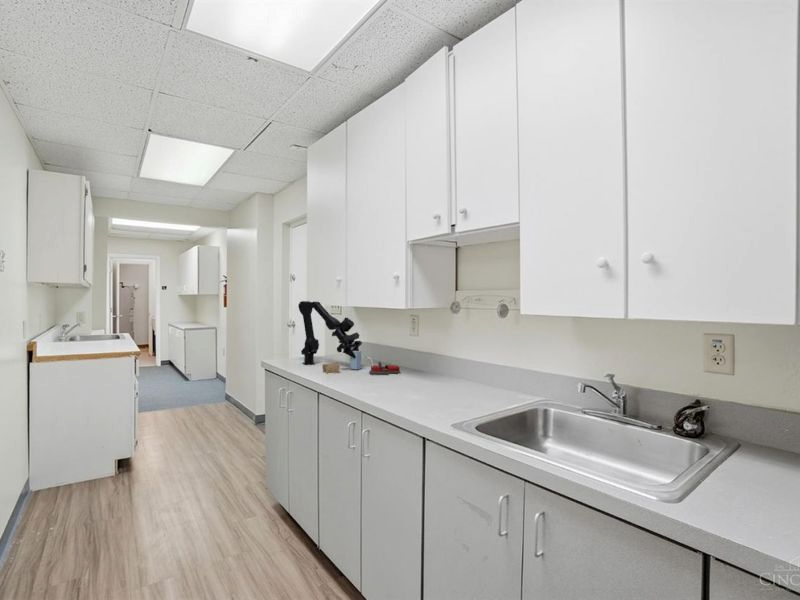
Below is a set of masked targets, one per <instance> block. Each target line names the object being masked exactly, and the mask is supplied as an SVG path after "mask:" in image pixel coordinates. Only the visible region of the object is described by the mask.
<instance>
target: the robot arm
mask: <svg viewBox="0 0 800 600" xmlns="http://www.w3.org/2000/svg"><path fill="white" fill-rule="evenodd" d="M297 307H298V311H299V312H300V314H301V315H302V318H303V325H304V331H305V340H304V347H303V348H302V349H301V355H303V356H304V359H303V362H302V364H303V365H306V366H307V365H308V364H310V365H316V363H315V362H314V361H315V360H314V356H315V355H316V354H317V353H318V350H319V347H320V342H319V339H316V338H315V333H314V326H313V321H312V312H313V309H314V310H315V312H316V313H317V314H318V315H319V316H320V317H321V318H322V319H323V320H324V322H325V323H324V324H325V326H326V328H327V329H328V330H330V331H332V332H331V337H336V338H337V339H338V343H339V345H338V346H337V347H336V351H337V353H342V354H345V355H348V356H349V357H350V356H351V357H353V358H356V356H355V354H354V353H353V351H360V350H359V348H360V347H361V346H362V344H363V342H362V341H361V340H358V339H360V334H359V332H354V333H352V334H347V333H348V332H349V331H350V330H351V329H352V328H353V327H354V326H355V323H354V321H353V320H352V319H350V318H348V317H344V319H343V320H342V321H340V320H339V319H337V318H336V317H334V316H332V315H331V314H330V312H328V311H327V309H326V308H325V307H324V306H323V305H322V303H321V302H319V301H309V300H307V301H306V300H305V301H304V300H303V301H302V300H301V301H299V303H298V306H297ZM346 332H347V333H346Z"/></svg>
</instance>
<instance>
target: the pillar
mask: <svg viewBox="0 0 800 600" xmlns="http://www.w3.org/2000/svg"><path fill="white" fill-rule="evenodd" d="M353 353H354V354H355V356H356V358H353V357H351V356H349V357H350V358H349V369H351V370H359V369H361V368H362V350H361V351H360V350H359V351H353Z"/></svg>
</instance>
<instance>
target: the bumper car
mask: <svg viewBox="0 0 800 600" xmlns="http://www.w3.org/2000/svg"><path fill="white" fill-rule="evenodd" d="M364 358H365V359H367V358H368V359H370V361H371V365H370V369H369V374H370V375H371V374H372V376H389V375H388V374H396V375H399V374H398V373H400V374H401V370H400V366H398V365H393V364H392V365H391V364H386V365H384V366H383V365H382V362H381V361H378V365H374V363H373V360H372V358H371V357H369V356H365V357H364Z"/></svg>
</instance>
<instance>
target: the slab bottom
mask: <svg viewBox="0 0 800 600" xmlns="http://www.w3.org/2000/svg"><path fill="white" fill-rule="evenodd" d="M322 372H323V373H324V372H325V374H326V373H327V374H326V375H329V374H328V373H334V374H340V369H336V370H326V369H322Z"/></svg>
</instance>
